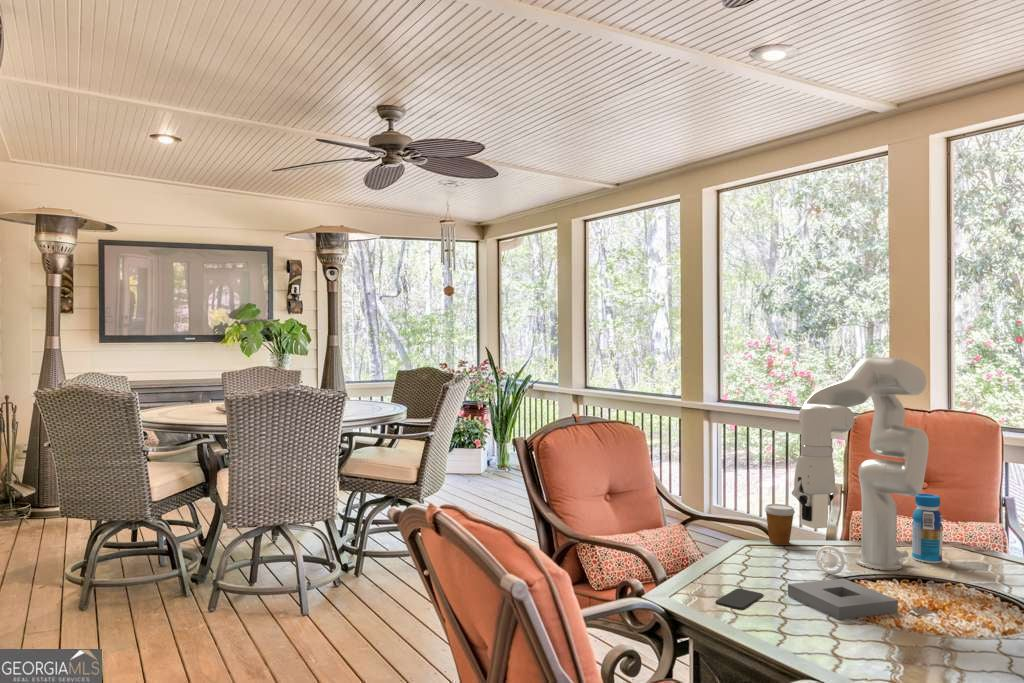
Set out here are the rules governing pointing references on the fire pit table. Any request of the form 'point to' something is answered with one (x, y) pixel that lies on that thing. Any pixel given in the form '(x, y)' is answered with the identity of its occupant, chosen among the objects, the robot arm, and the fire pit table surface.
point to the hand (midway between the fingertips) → (814, 519)
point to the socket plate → (842, 598)
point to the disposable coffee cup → (779, 523)
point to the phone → (739, 599)
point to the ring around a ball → (830, 560)
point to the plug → (818, 511)
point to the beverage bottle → (927, 529)
